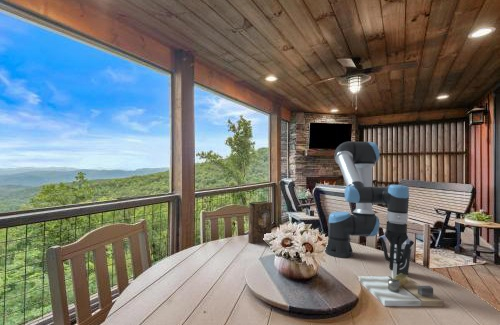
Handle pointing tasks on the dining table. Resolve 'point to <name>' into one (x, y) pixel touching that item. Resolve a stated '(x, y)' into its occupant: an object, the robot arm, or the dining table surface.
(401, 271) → the coffee cup
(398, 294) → the door board
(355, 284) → the dining table surface
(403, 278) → the latch bar
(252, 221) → the book
